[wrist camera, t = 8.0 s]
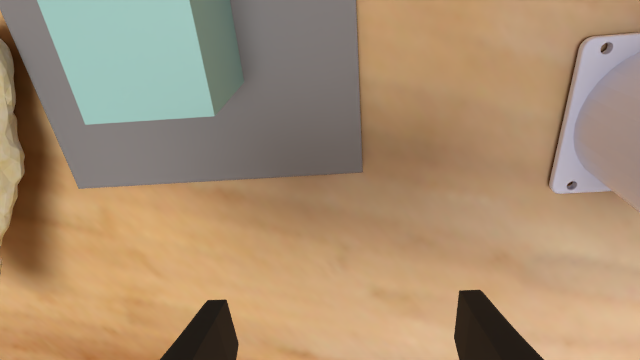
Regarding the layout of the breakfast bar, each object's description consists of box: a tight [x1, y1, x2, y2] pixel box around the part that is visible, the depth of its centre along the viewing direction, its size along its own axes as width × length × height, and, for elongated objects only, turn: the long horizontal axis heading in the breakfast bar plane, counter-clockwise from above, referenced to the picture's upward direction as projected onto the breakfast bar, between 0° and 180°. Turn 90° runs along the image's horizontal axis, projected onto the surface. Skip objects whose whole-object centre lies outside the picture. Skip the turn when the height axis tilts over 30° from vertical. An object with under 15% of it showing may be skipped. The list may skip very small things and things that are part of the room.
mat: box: [0, 0, 363, 189], centre depth 18 cm, size 16×16×1 cm
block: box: [37, 0, 244, 125], centre depth 15 cm, size 5×5×5 cm
